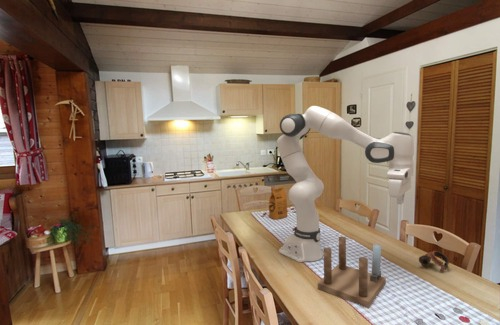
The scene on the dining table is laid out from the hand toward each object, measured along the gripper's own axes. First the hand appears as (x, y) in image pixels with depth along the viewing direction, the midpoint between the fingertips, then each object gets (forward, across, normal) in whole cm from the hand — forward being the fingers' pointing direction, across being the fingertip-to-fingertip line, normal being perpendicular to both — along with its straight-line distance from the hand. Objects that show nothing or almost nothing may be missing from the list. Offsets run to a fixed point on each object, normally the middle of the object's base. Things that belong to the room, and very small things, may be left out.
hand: (400, 203), depth 118 cm
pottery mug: (+31, -13, +10) cm, 36 cm away
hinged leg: (+27, +15, -5) cm, 31 cm away
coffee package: (+31, -32, -88) cm, 99 cm away
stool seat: (+31, +22, -12) cm, 40 cm away
